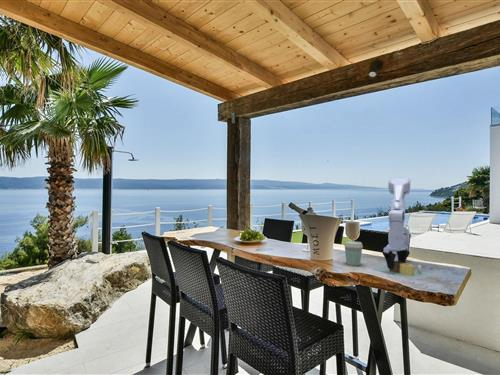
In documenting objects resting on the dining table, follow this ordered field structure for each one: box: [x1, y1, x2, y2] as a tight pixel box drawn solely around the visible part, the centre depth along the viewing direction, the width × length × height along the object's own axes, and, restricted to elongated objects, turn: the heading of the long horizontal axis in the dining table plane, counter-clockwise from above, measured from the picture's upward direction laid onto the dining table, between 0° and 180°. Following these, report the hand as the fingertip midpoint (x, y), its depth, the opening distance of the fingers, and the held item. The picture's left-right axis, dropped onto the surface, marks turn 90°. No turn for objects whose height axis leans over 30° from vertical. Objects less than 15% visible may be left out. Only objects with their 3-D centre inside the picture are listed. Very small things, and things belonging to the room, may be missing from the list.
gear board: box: [368, 263, 437, 281], centre depth 135 cm, size 22×16×5 cm
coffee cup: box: [343, 240, 364, 267], centre depth 146 cm, size 8×8×12 cm
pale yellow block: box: [400, 262, 415, 276], centre depth 130 cm, size 6×5×4 cm
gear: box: [389, 260, 403, 272], centre depth 135 cm, size 6×5×4 cm
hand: (395, 267), depth 135 cm, fingers open, 7 cm apart
